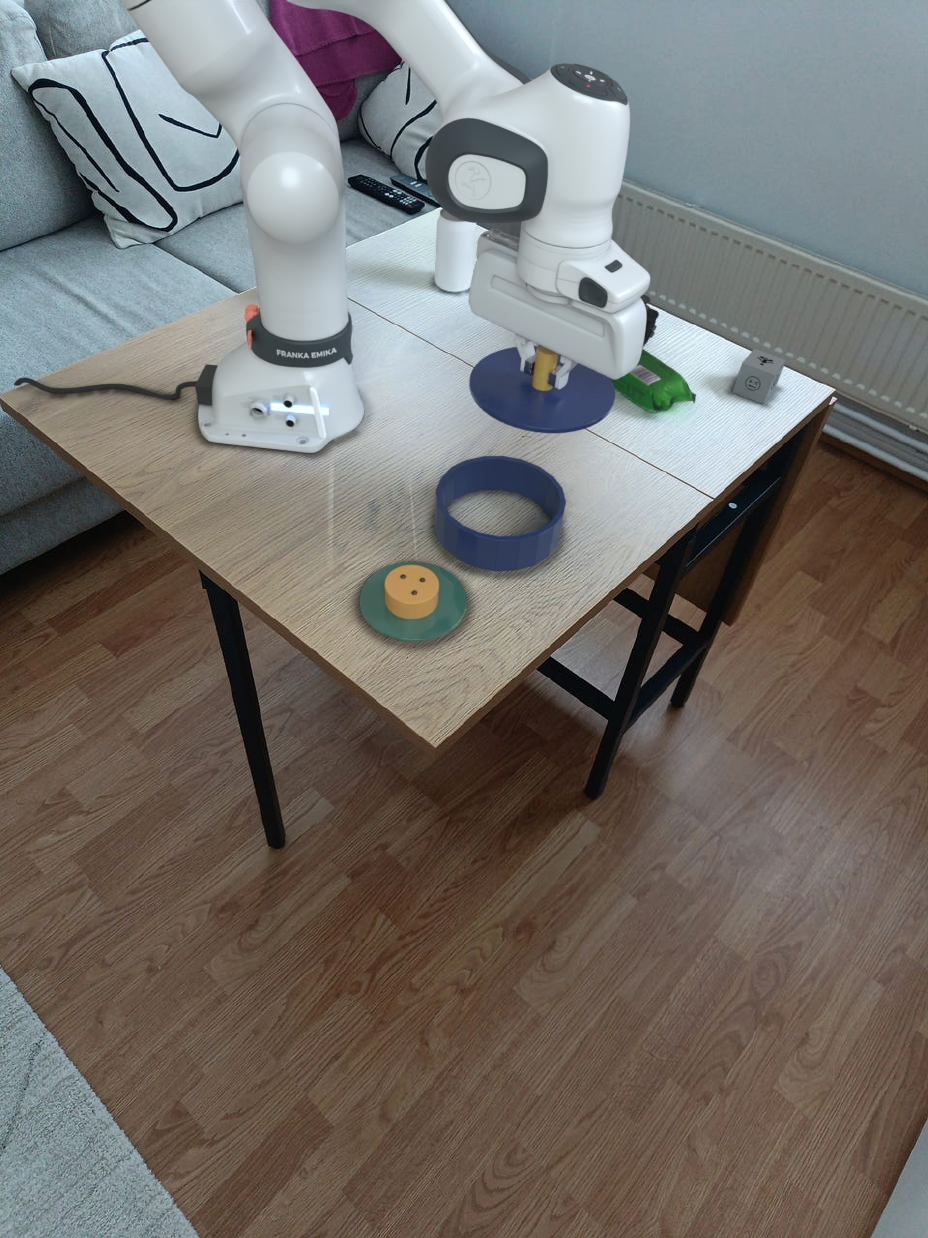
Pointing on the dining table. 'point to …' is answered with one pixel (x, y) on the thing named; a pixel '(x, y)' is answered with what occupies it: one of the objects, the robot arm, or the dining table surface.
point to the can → (454, 253)
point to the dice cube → (758, 376)
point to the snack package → (654, 385)
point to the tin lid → (540, 393)
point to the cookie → (411, 591)
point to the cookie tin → (505, 477)
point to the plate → (414, 629)
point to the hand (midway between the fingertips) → (543, 378)
